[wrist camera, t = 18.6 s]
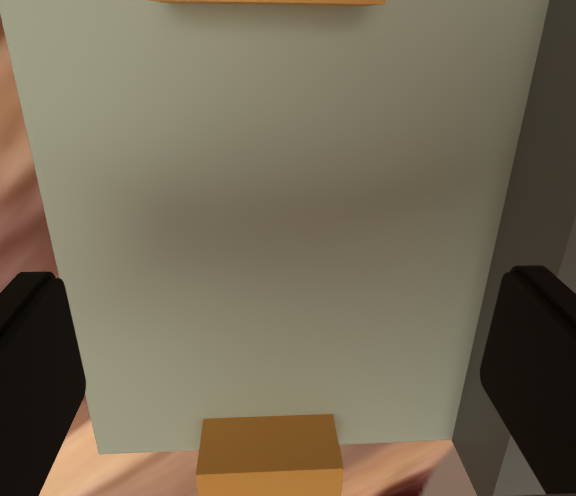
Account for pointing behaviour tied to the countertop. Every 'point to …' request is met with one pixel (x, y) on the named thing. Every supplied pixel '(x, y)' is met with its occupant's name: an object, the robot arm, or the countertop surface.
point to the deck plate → (298, 218)
